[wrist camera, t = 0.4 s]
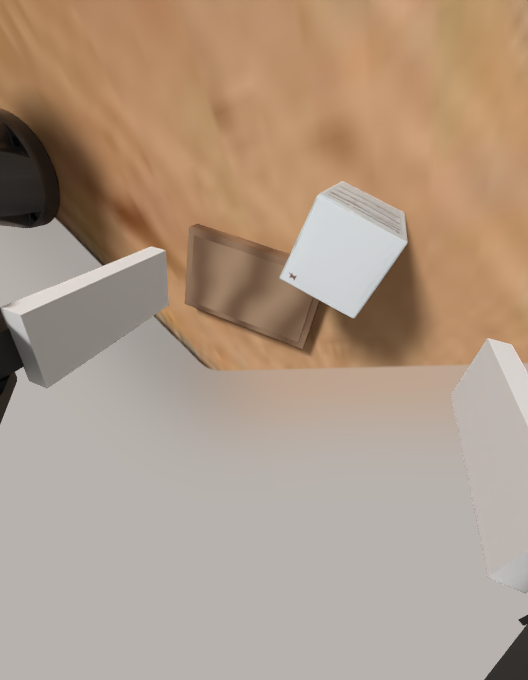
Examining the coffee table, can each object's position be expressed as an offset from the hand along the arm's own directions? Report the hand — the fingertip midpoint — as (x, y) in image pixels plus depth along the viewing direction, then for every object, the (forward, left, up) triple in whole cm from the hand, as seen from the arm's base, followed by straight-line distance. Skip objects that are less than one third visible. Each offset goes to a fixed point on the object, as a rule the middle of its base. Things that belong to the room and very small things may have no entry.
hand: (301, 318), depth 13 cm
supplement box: (0, -1, -25) cm, 25 cm away
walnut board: (-10, -12, -25) cm, 29 cm away
